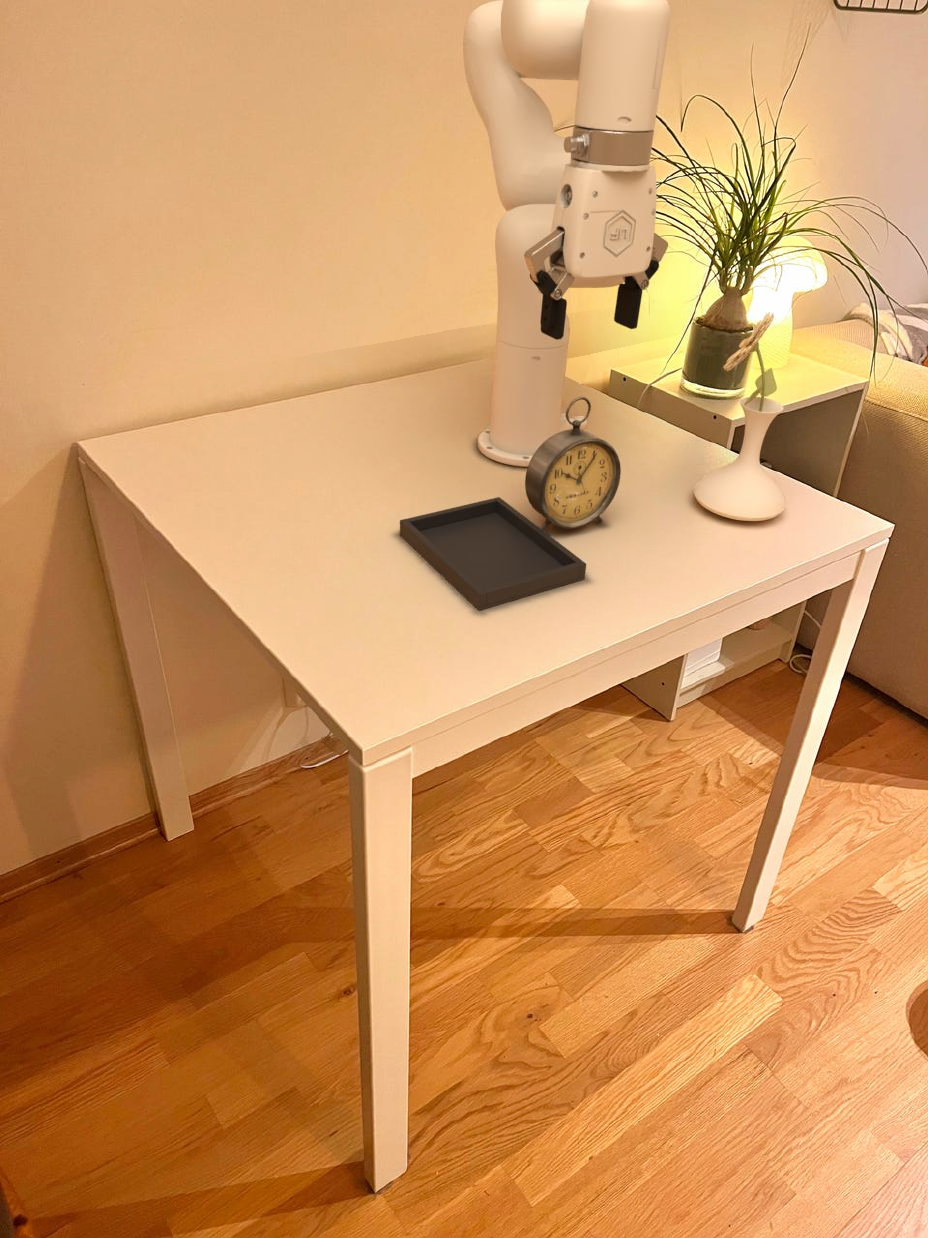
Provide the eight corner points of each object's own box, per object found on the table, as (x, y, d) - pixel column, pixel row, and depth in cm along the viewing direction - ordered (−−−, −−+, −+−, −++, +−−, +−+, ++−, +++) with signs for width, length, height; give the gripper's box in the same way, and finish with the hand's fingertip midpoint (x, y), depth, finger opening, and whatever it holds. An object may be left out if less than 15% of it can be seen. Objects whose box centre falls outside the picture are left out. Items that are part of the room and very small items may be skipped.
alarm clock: (537, 545, 106) (551, 412, 96) (514, 524, 109) (525, 394, 100) (615, 527, 110) (635, 398, 101) (590, 508, 114) (607, 382, 105)
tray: (497, 511, 112) (499, 496, 111) (584, 579, 100) (586, 563, 99) (399, 535, 106) (399, 519, 105) (479, 610, 94) (480, 594, 93)
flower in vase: (722, 480, 123) (766, 288, 108) (799, 511, 116) (856, 311, 102) (665, 509, 115) (705, 307, 101) (745, 544, 108) (798, 333, 94)
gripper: (560, 157, 80) (541, 350, 90) (706, 152, 88) (675, 331, 97) (513, 145, 85) (500, 329, 95) (655, 142, 93) (630, 312, 103)
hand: (589, 330), depth 96 cm, fingers open, 9 cm apart
